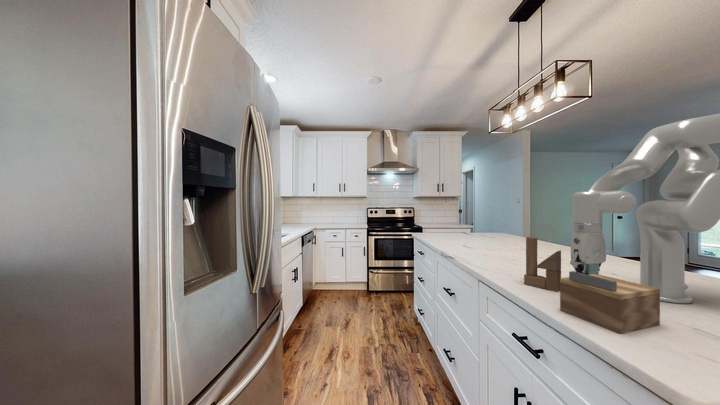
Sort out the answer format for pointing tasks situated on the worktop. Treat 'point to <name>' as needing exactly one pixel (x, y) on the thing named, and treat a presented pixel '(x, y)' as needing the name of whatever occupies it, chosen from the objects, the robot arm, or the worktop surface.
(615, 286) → the lid
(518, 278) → the worktop surface
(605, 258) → the robot arm
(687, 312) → the worktop surface
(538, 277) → the wooden block structure
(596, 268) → the teal rectangular block
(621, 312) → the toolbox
